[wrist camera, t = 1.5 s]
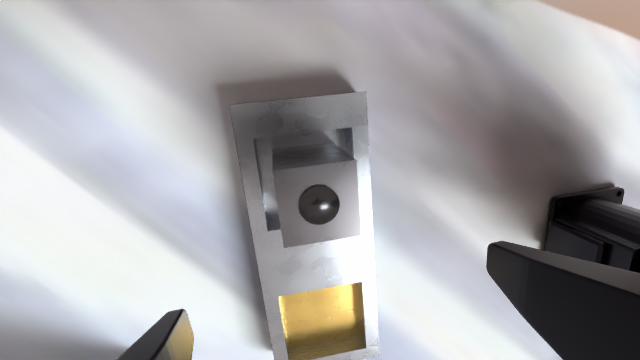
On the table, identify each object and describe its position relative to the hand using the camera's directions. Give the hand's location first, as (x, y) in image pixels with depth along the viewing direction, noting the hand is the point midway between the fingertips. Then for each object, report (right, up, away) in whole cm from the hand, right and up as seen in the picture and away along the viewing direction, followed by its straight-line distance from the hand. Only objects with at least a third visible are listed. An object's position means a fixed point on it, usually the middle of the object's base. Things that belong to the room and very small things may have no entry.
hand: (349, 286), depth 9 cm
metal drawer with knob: (-2, +3, +12) cm, 12 cm away
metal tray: (-1, -1, +14) cm, 14 cm away
